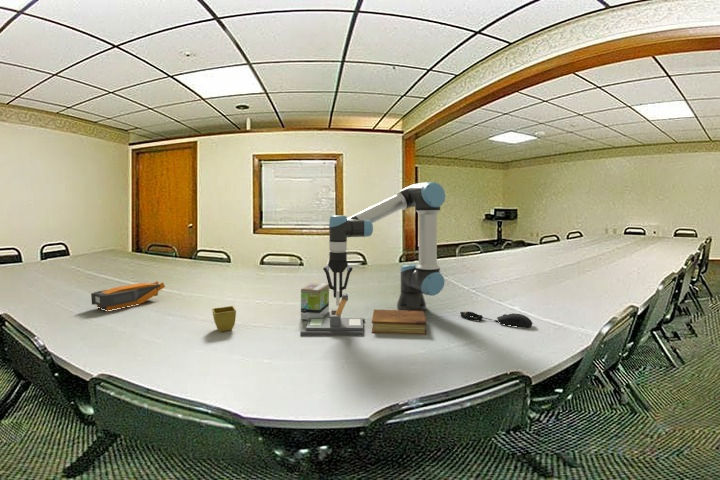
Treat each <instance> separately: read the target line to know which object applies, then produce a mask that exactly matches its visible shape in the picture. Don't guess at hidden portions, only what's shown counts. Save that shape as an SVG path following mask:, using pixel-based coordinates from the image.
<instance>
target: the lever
mask: <svg viewBox="0 0 720 480" xmlns="http://www.w3.org/2000/svg"><path fill="white" fill-rule="evenodd" d="M348 301H349V295H348V293H342V298H341V300H340V304H339V306H338V307H337V311H336V314H335V315H342V313H343V310H344V308H345V305H346V303H347V302H348Z"/></svg>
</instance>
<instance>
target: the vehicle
mask: <svg viewBox="0 0 720 480" xmlns="http://www.w3.org/2000/svg"><path fill="white" fill-rule="evenodd" d="M164 288H166V286H165V283H164V282H161V283H159V281H157V280H156V281H154V282H153V283H152V282H147V283H146V282H143V283H142V282H140V283H134V284H129V285H123V286H117V287H113V288H110V289H104V290H99V291H95V292H92V293H90V294H91V297H90V298H91V305H95V306H96V308H97V307H100V308H102V309H105V310H107V311H108V310H112V309H117V308H122V307H127V306H131V305H136V304H140V305H142V304H144V303H145V302H146V301H148V300H150V299H151V298H153V297H157V296H159V291H161V290H163V289H164ZM141 303H142V304H141ZM107 311H106V312H107Z"/></svg>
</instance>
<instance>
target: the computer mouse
mask: <svg viewBox="0 0 720 480" xmlns="http://www.w3.org/2000/svg"><path fill="white" fill-rule="evenodd" d="M459 315H460V316H462V317H461V318H463V317H464V318H463V319H466V318H467V320H469V319H471V320H470V321H472V320H481V321H482V320H483V319H485V320H490V321H492V320H494V319H492V318H489V317H488V318H487V317H483V315H482V314H478V313H475V312H473V311H460V314H459ZM470 316H473V317H470ZM496 321H499V322H500V323H499V322H498V323H499V324H500V325H501V324H505V325H511V326H517V327H516V328H518V327H529V328H531V327H532V326H533V324H534V323H533V321H532V320H531V319H530V318H529V317H528V316H527V315H524V314H522V313H521V314H520V313H508V314H506V313H505V314H502V315H501V316H498V317H496V319H495V320H494V321H493V322H496ZM505 325H504V326H505ZM511 326H510V327H511Z"/></svg>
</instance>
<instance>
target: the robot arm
mask: <svg viewBox="0 0 720 480" xmlns="http://www.w3.org/2000/svg"><path fill="white" fill-rule="evenodd" d="M445 201H446V192H445V189H444V188H443V186H442V185H441V184H440V183H438V182H434V181H426V182H415V183H413V184H411V185H408V186H406V187H404V188H403V189H400V190H398V191H397V192H395V193H394V195H393V196H391V197H389V198H386V199H383V201H381V202H378V203H376V204H374V205H372V206H369V207H368V208H365V209H364V210H362V211H359V212H358V213H356V214H354V215H351V216H349V217H347V216H346V215H335V214H334V215H331V216H330V217H329V224H328V228H329V229H328V231H329V232H328V233H329V236H328V238H329V242H328V243H329V244H328V245H329V247H328V248H329V254H328V255H329V257H328V258H329V259H328V261H329V262H328V263H327V265H326V266H324V267H323V271H324V272H325V276H326V281H327V284H329V290H332V291H333V298H335V306H336V307H337V306H338V307H339V304H340V302H341V300H340V298H341V299H342V295H343V291H344V290H346V289H347V286H348V283H349V279H350V278H349V277H350V275H351V272H352V271H353V270H354V269H353V266H351V265H349V263H348V260H347V259H348V252H347V251H348V248H347V247H348V245H347V244H348V238H367V237H371V236H372V234H373V233H374V225H373V224H374V223H376V222H378V221H380V220H382V219H384V218H386V217H388V216H390V215H393V214H394V213H397V212H398V211H400V210H402V211H406V210H408V209H409V208H415V212H417V214H418V264H417V263H416V264H404V265H402V266H401V268H400V294H399V298H398V300H397V302H396V308H397V310H409V311H426V310H425V309H427V303H426V300H425V297H424V295H426V296H429V297H431V296H437V295H438V294H440V292H441V291H442V290H443V289H444V286H445V283H446V282H445V278H444V277H445V276H443V274H442V273H441V267H440V265H439V264H438V261H437V260H438V259H437V257H438V256H437V255H438V254H437V253H438V251H437V250H438V244H437V243H438V233H437V232H438V214H439V212H441V206H442V205H443V204H444V203H445ZM330 270H331V272H332V273H333V283H332V278H331V274H330ZM345 270H346V271H347V272H346V275H345V280H344V284H343V272H344V271H345ZM337 274H338V275H339V276H337ZM337 277H338V278H339V284H338V283H337V280H338V279H337ZM337 284H338V285H339V286H338V285H337ZM338 287H339V289H338Z"/></svg>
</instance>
